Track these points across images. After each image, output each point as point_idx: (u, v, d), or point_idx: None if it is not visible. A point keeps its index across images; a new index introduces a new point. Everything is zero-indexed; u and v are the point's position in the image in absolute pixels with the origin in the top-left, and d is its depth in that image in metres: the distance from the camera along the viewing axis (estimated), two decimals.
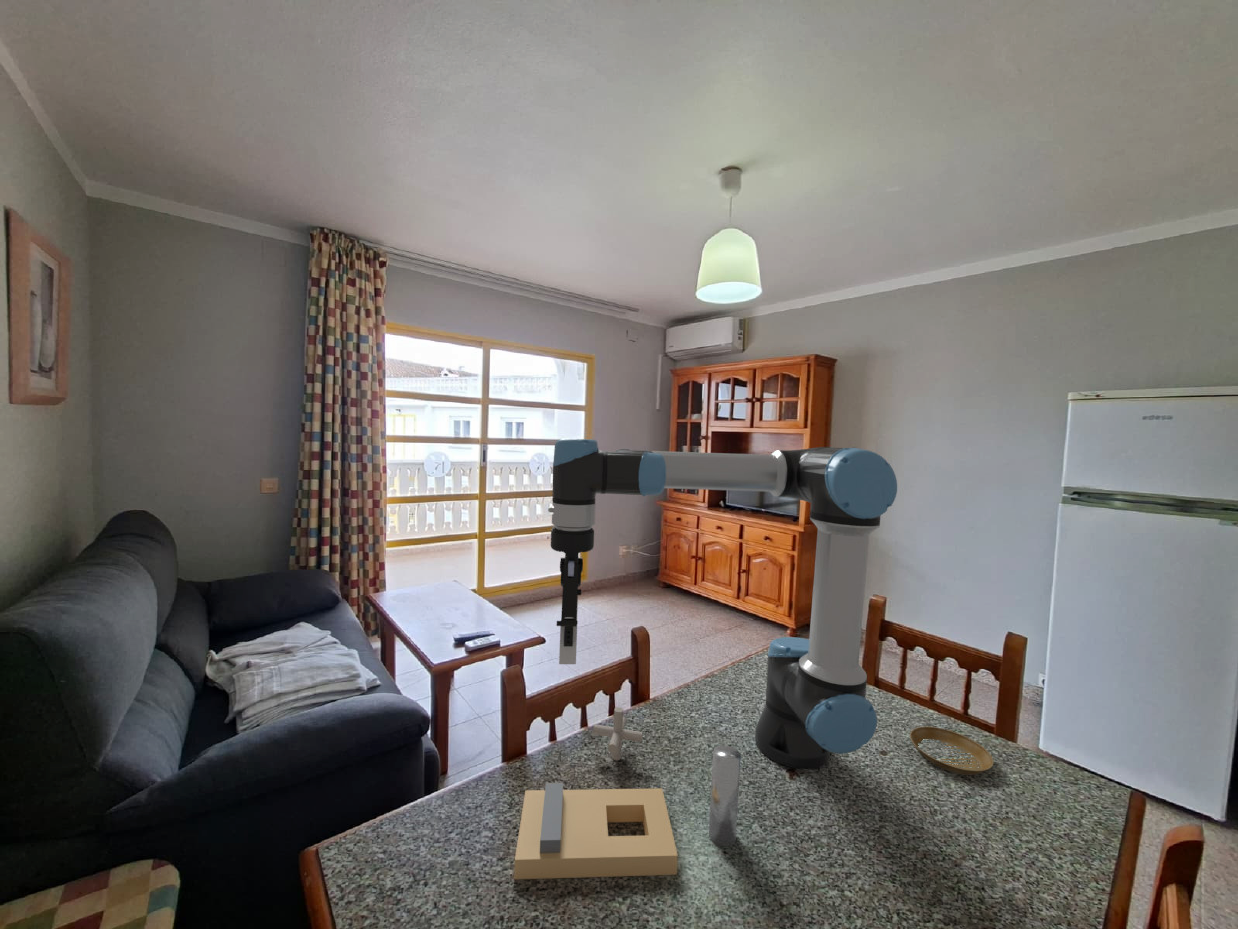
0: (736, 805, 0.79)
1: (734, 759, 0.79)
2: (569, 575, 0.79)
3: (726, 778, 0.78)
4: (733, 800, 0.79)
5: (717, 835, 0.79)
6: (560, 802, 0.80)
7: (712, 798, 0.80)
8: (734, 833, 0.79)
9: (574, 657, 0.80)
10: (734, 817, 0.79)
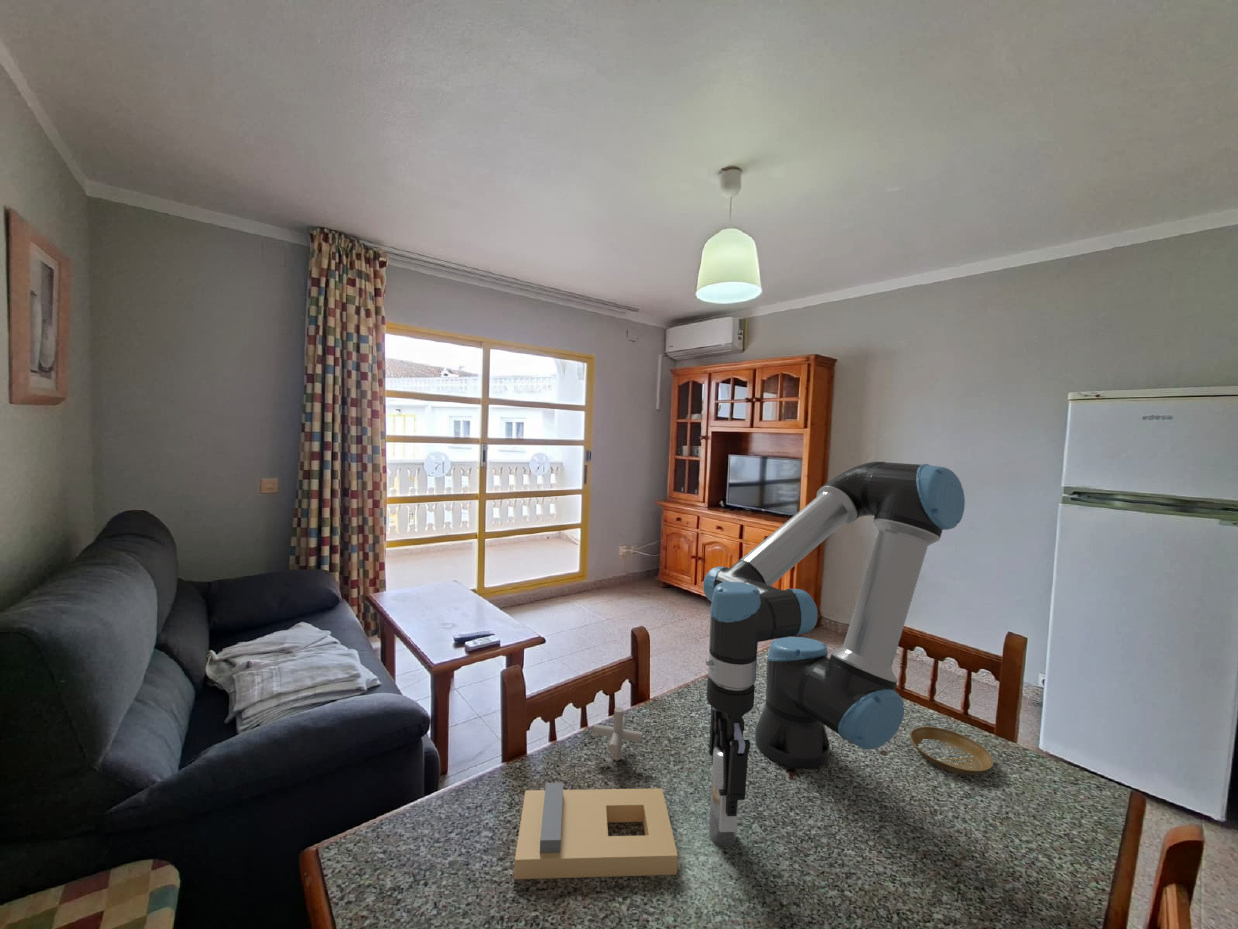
0: None
1: None
2: (738, 753, 0.74)
3: None
4: None
5: (717, 835, 0.79)
6: (560, 802, 0.80)
7: (712, 798, 0.80)
8: (734, 833, 0.79)
9: (735, 825, 0.78)
10: None
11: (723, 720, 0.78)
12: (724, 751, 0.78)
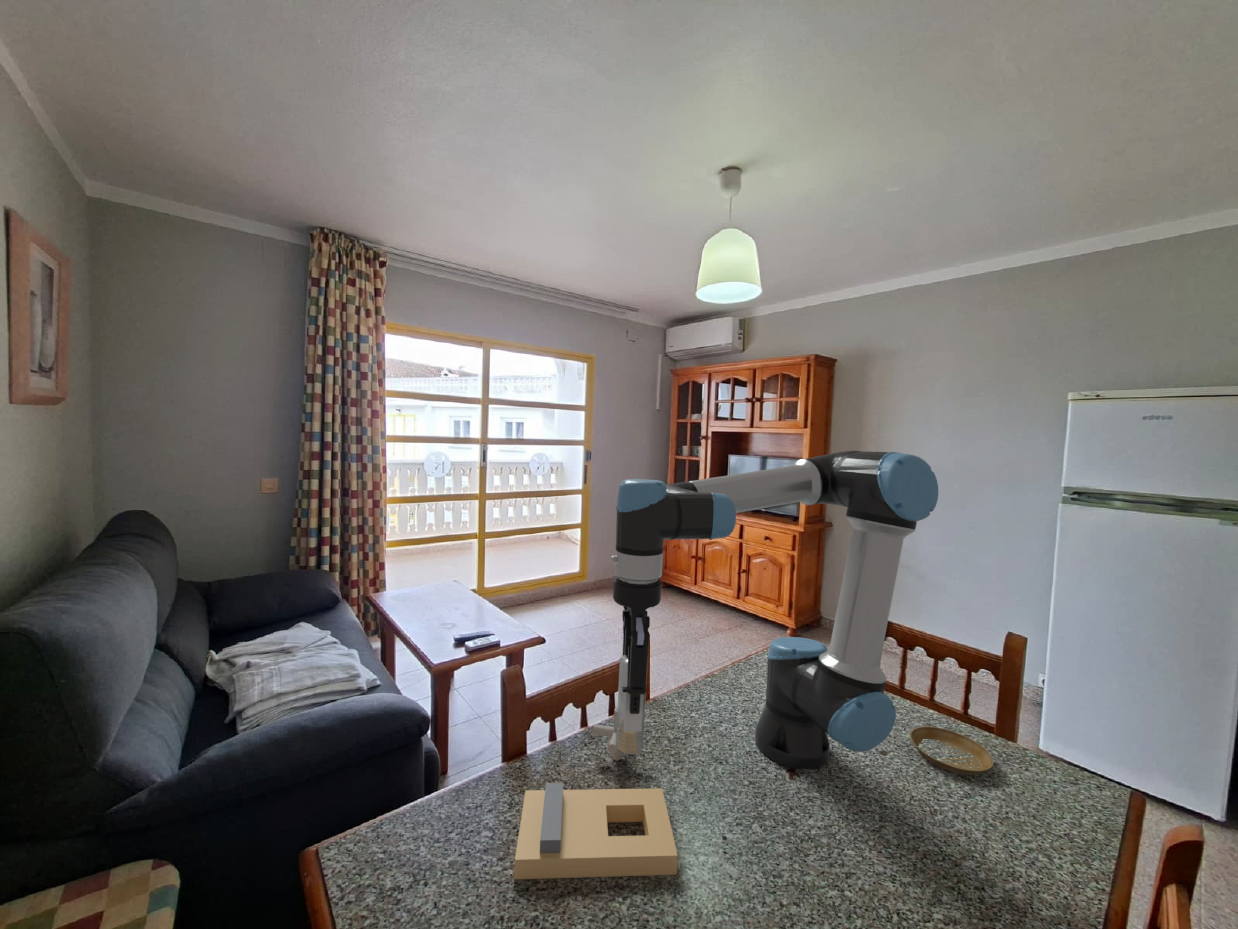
0: (642, 712, 0.77)
1: None
2: (638, 644, 0.72)
3: None
4: None
5: (622, 742, 0.77)
6: (560, 802, 0.80)
7: (618, 705, 0.78)
8: (640, 741, 0.77)
9: (640, 724, 0.76)
10: None
11: (628, 617, 0.76)
12: (628, 648, 0.76)
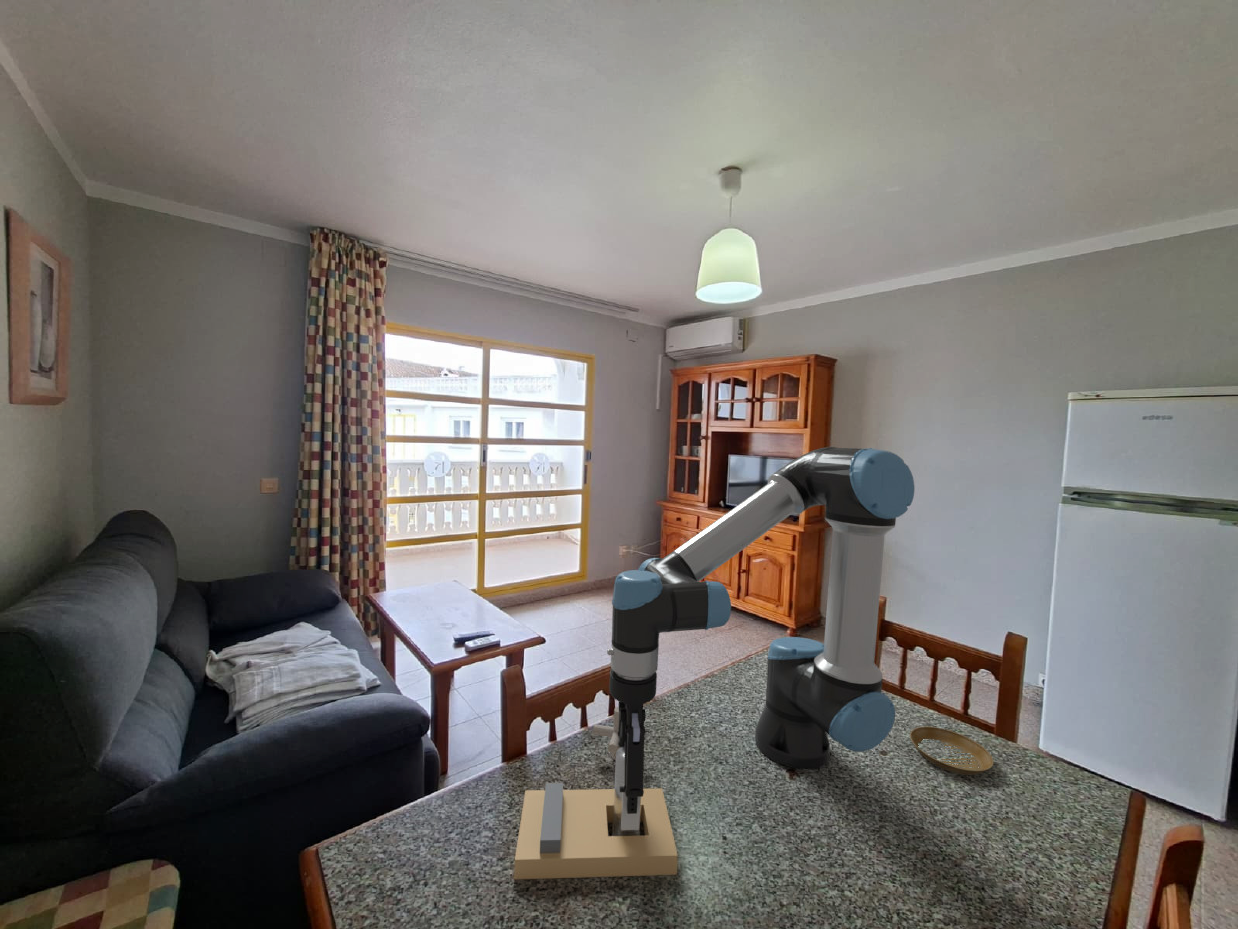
0: None
1: None
2: (634, 741, 0.72)
3: None
4: None
5: None
6: (560, 802, 0.80)
7: (614, 800, 0.79)
8: (636, 835, 0.78)
9: (637, 822, 0.75)
10: None
11: (624, 710, 0.77)
12: (625, 743, 0.76)
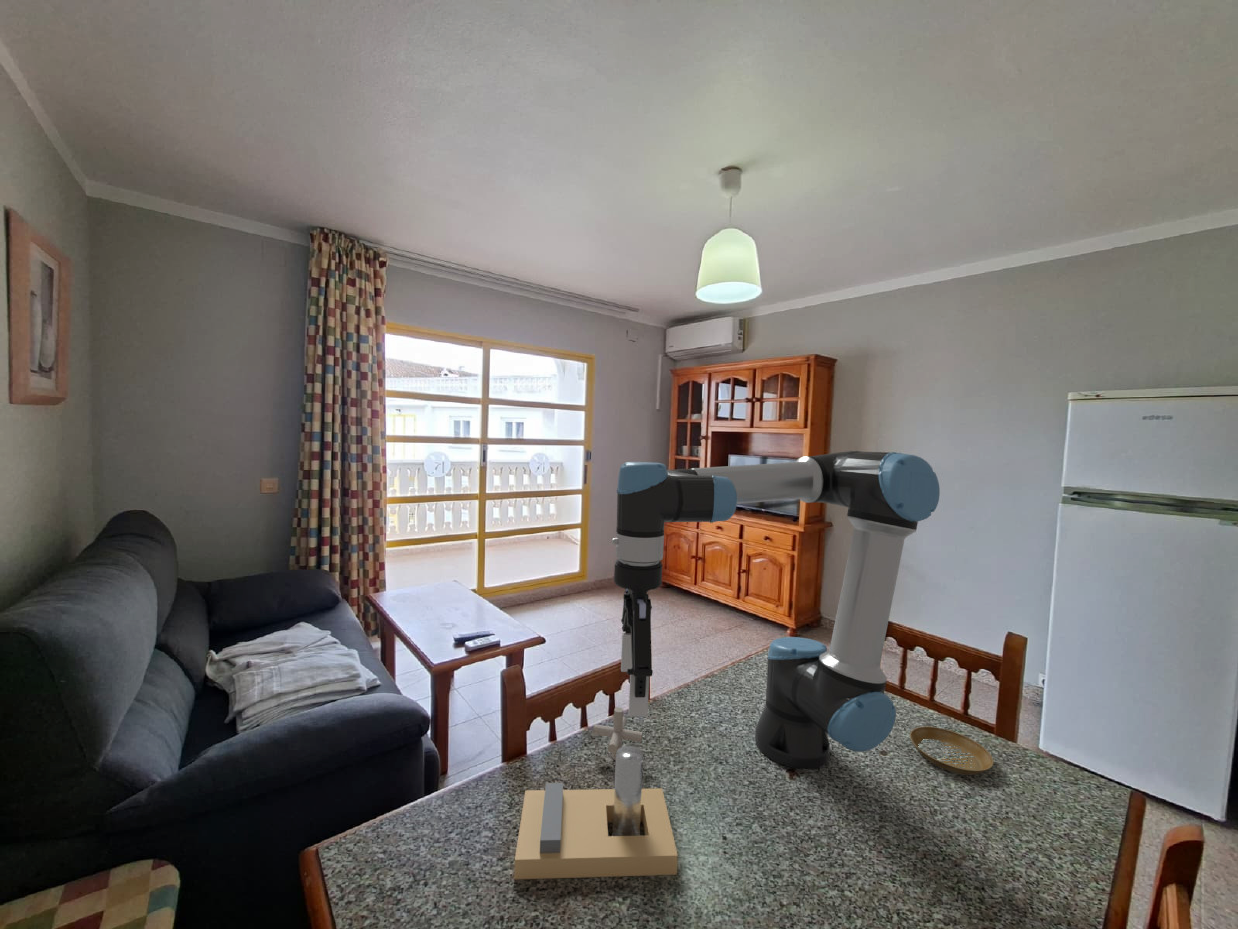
0: (638, 807, 0.78)
1: (635, 760, 0.77)
2: (640, 617, 0.71)
3: (626, 780, 0.77)
4: (633, 802, 0.77)
5: None
6: (560, 802, 0.80)
7: (614, 800, 0.79)
8: (636, 835, 0.78)
9: (646, 708, 0.71)
10: (636, 819, 0.78)
11: (629, 598, 0.76)
12: (631, 629, 0.74)
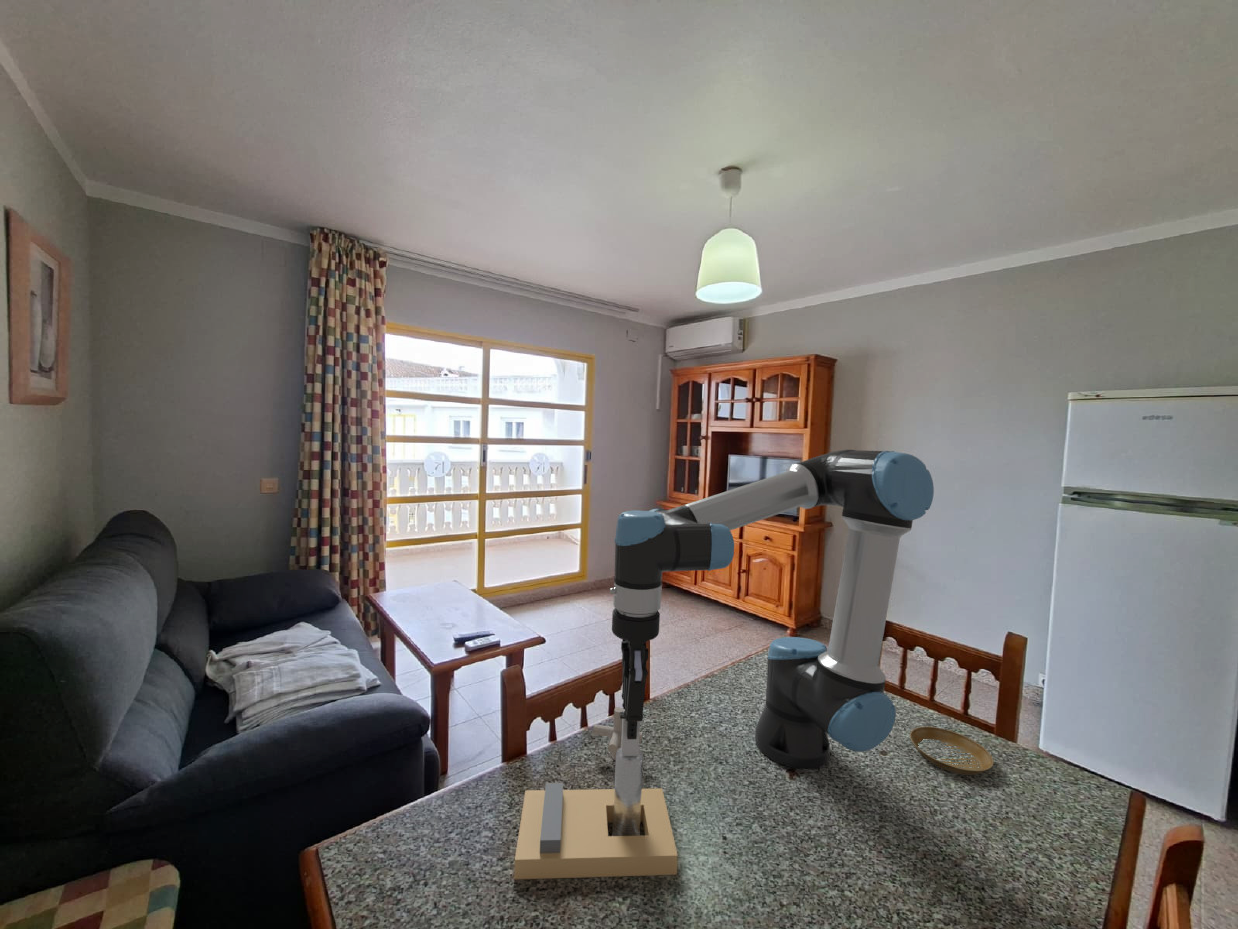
0: (638, 807, 0.78)
1: (635, 760, 0.77)
2: (636, 680, 0.73)
3: (626, 780, 0.77)
4: (633, 802, 0.77)
5: None
6: (560, 802, 0.80)
7: (614, 800, 0.79)
8: (636, 835, 0.78)
9: (637, 749, 0.78)
10: (636, 819, 0.78)
11: (626, 650, 0.76)
12: (626, 678, 0.77)
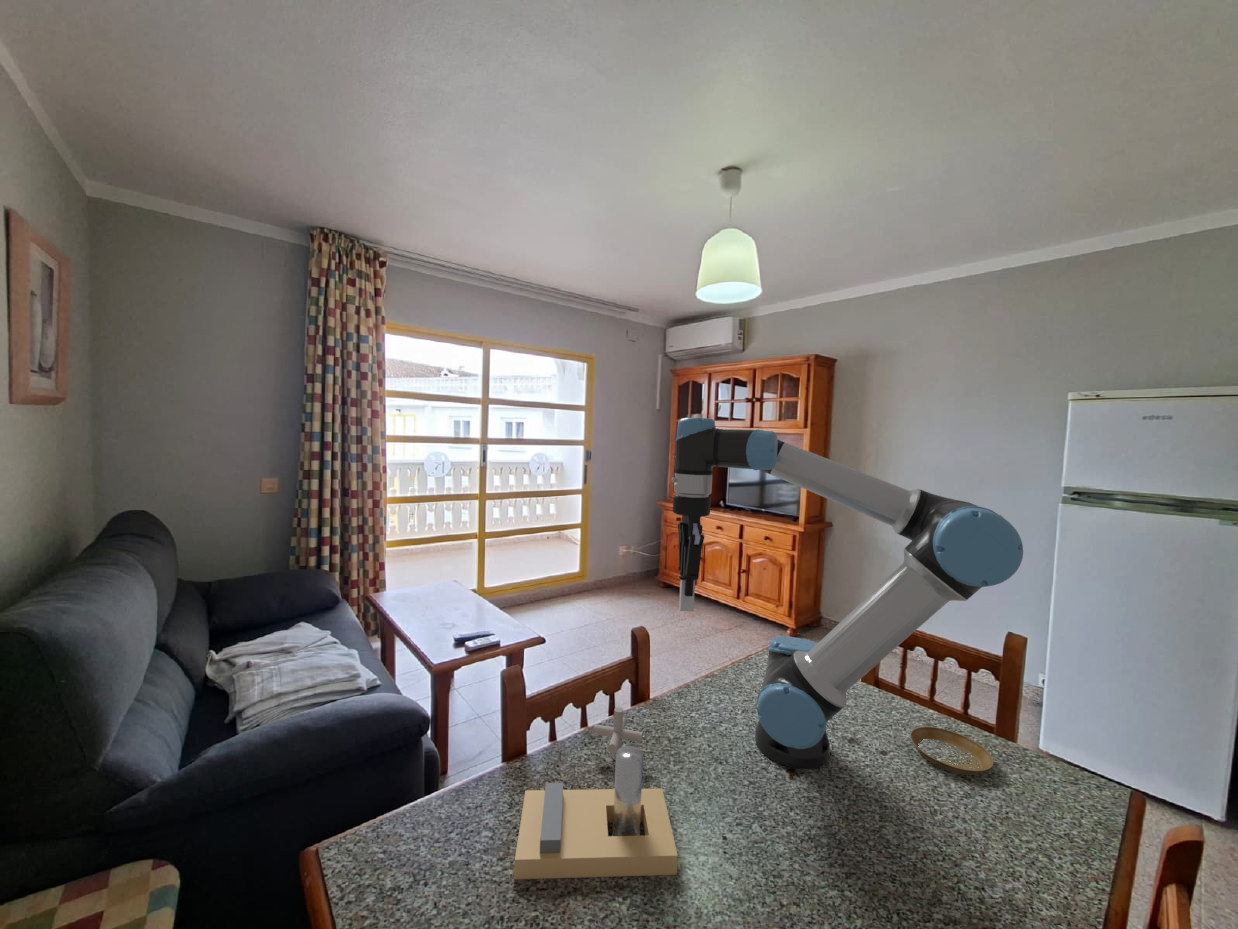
0: (638, 807, 0.78)
1: (635, 760, 0.77)
2: (695, 544, 0.94)
3: (626, 780, 0.77)
4: (633, 802, 0.77)
5: None
6: (560, 802, 0.80)
7: (614, 800, 0.79)
8: (636, 835, 0.78)
9: (692, 605, 0.99)
10: (636, 819, 0.78)
11: (685, 525, 0.97)
12: (685, 548, 0.98)
